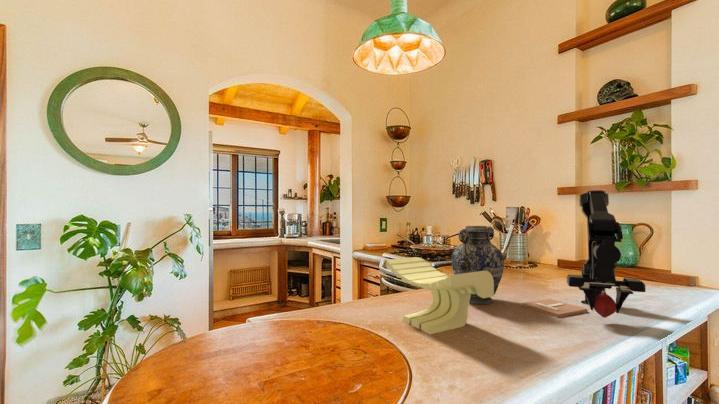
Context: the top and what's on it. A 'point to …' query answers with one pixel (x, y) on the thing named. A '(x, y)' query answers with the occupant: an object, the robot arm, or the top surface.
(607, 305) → the onion
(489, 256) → the decorative vase
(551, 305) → the letter tile
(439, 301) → the slatted curved stool
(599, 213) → the robot arm
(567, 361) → the top surface
